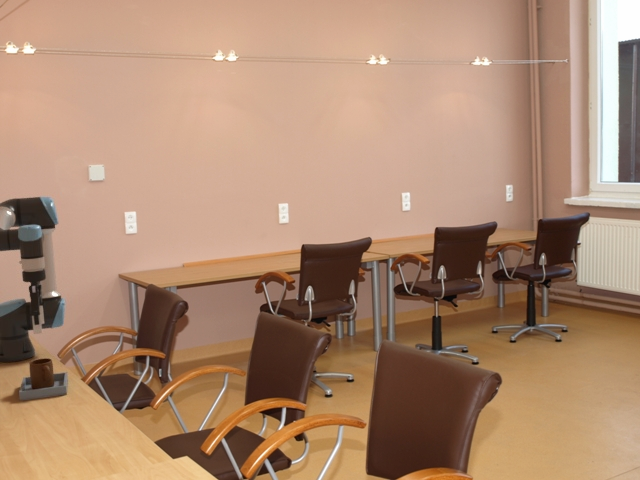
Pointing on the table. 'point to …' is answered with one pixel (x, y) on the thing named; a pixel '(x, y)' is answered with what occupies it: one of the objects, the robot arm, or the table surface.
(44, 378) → the mug
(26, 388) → the tray
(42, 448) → the table surface
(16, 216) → the robot arm
